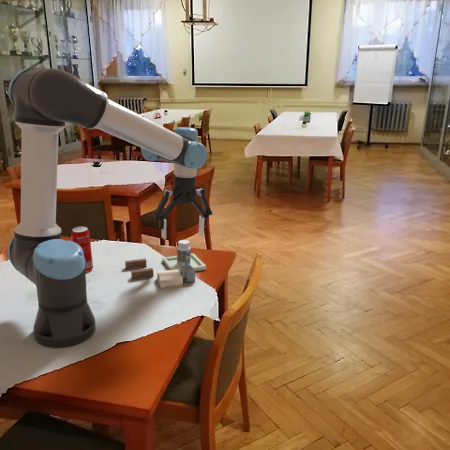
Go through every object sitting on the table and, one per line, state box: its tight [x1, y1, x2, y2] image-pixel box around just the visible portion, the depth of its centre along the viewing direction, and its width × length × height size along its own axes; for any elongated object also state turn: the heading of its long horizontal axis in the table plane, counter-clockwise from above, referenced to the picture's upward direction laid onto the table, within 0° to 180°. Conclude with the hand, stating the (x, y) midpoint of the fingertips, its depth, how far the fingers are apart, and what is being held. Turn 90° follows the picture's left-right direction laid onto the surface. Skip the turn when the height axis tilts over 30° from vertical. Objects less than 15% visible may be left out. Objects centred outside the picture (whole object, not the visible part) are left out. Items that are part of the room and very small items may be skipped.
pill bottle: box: [176, 239, 192, 266], centre depth 158 cm, size 5×5×8 cm
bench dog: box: [181, 265, 196, 284], centre depth 149 cm, size 5×3×4 cm, turn 25°
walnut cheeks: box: [124, 258, 154, 281], centre depth 153 cm, size 10×7×2 cm
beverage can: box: [70, 225, 94, 273], centre depth 151 cm, size 6×6×15 cm
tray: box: [161, 253, 207, 274], centre depth 160 cm, size 12×12×2 cm
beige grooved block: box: [156, 269, 184, 289], centre depth 147 cm, size 7×7×3 cm
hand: (182, 236), depth 156 cm, fingers open, 13 cm apart
